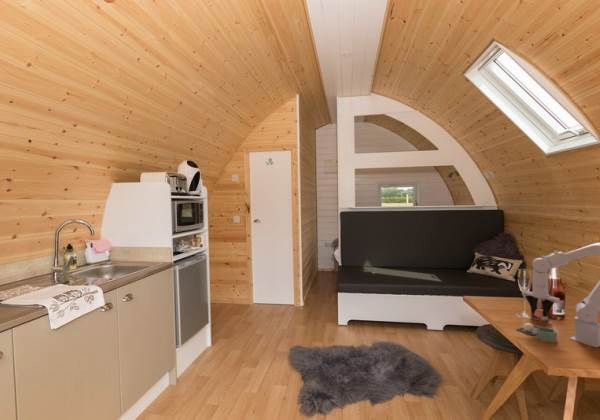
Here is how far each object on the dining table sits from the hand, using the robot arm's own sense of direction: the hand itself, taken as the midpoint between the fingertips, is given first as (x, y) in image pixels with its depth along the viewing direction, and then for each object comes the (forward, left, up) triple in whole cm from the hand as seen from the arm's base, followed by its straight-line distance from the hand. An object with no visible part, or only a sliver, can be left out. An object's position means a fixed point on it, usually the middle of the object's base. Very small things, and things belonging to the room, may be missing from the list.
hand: (540, 314), depth 148 cm
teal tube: (-5, +5, -8) cm, 11 cm away
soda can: (+11, -18, -9) cm, 23 cm away
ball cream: (+3, +4, -8) cm, 9 cm away
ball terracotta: (0, 0, -1) cm, 1 cm away
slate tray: (+3, +1, -8) cm, 9 cm away
